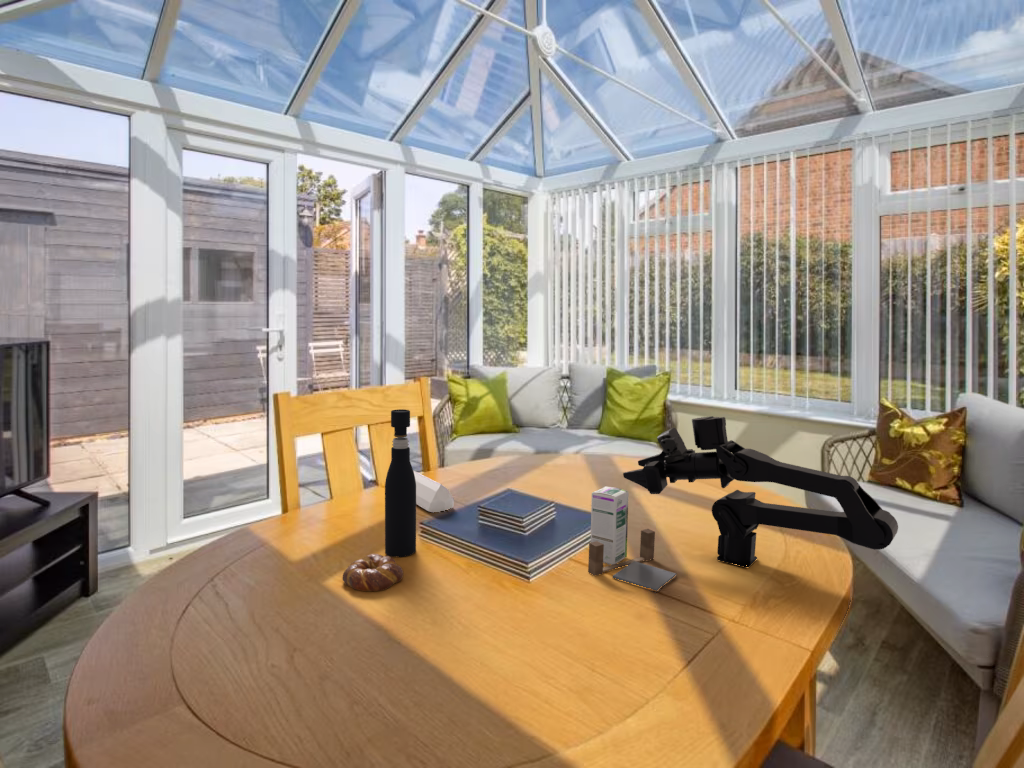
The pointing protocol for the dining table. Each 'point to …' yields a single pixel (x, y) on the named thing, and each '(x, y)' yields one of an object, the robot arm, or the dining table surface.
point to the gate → (645, 554)
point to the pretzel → (372, 573)
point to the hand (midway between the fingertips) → (631, 468)
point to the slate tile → (644, 575)
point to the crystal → (432, 494)
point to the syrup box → (610, 522)
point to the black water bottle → (400, 492)
